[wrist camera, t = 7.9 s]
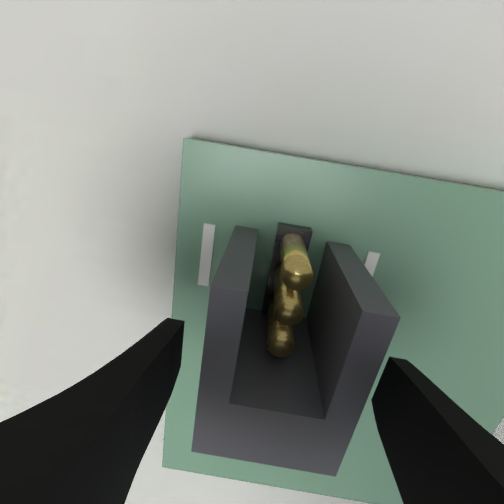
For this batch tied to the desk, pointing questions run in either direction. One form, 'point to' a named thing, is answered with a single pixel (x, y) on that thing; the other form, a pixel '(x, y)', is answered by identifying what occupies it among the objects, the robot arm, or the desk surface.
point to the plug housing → (290, 364)
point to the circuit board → (379, 266)
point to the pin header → (286, 286)
